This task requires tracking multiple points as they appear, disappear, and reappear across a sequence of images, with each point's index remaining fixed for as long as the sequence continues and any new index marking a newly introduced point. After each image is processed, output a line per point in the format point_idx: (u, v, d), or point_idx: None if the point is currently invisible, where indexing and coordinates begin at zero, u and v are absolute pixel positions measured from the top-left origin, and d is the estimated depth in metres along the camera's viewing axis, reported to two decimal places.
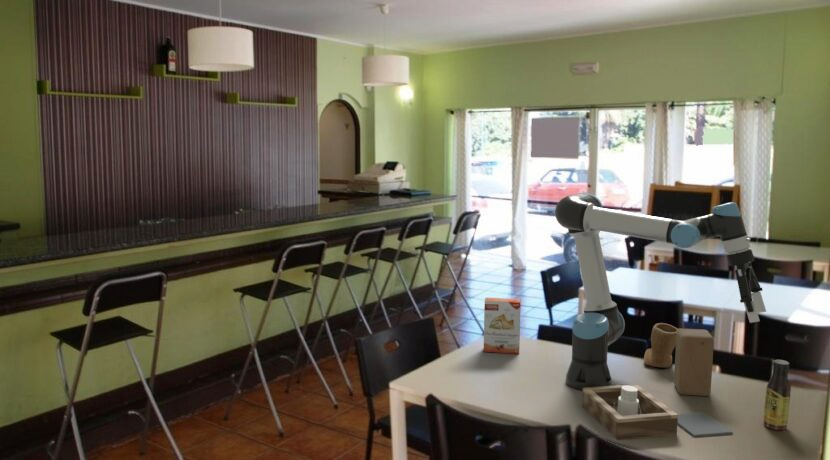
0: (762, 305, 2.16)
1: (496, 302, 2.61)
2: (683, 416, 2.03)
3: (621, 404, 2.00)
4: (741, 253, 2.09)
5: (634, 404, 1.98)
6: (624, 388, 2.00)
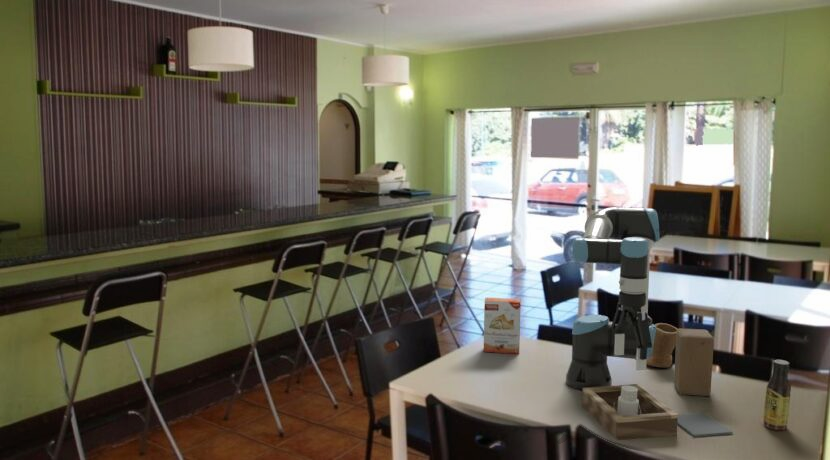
0: None
1: (496, 302, 2.61)
2: (683, 416, 2.03)
3: (621, 404, 2.00)
4: None
5: (634, 404, 1.98)
6: (624, 388, 2.00)
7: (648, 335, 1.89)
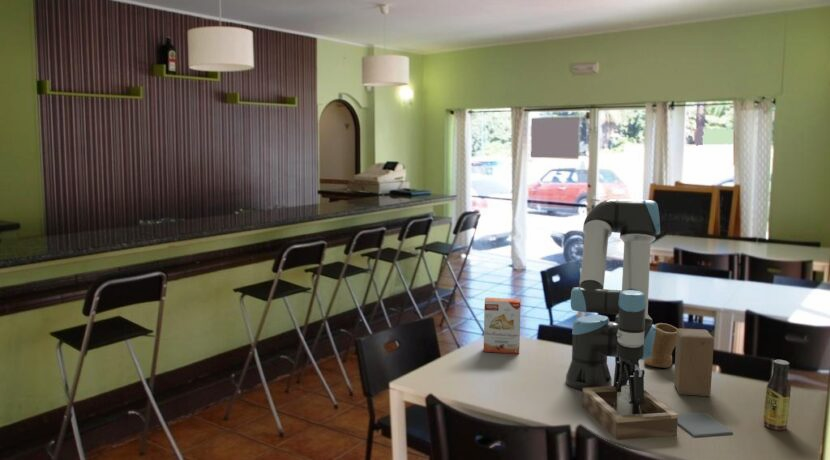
0: None
1: (496, 302, 2.61)
2: (683, 416, 2.03)
3: (621, 404, 2.00)
4: None
5: None
6: (624, 388, 2.00)
7: (642, 392, 1.94)
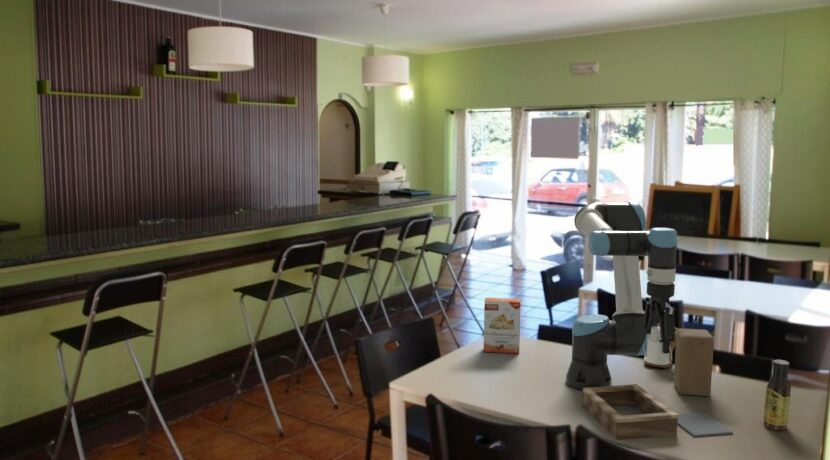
0: None
1: (496, 302, 2.61)
2: (683, 416, 2.03)
3: (651, 344, 1.95)
4: None
5: None
6: (654, 328, 1.96)
7: (672, 330, 1.89)
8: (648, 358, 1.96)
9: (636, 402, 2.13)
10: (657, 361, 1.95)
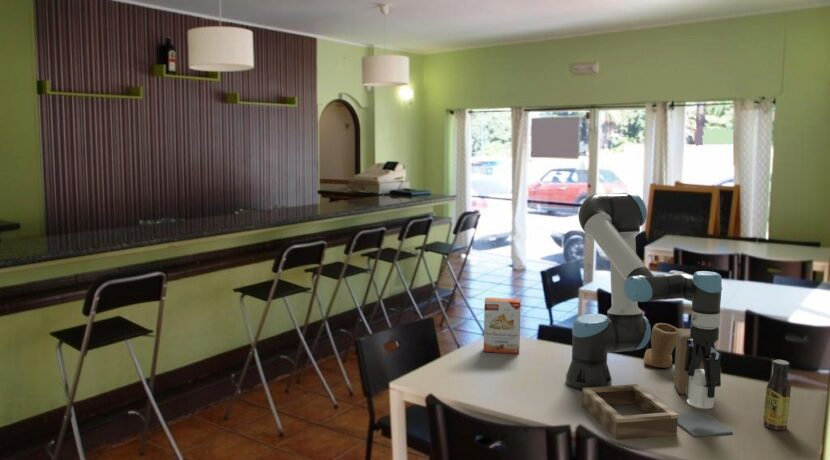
0: None
1: (496, 302, 2.61)
2: (683, 416, 2.03)
3: (695, 388, 1.95)
4: None
5: None
6: (698, 371, 1.96)
7: (718, 375, 1.89)
8: (692, 401, 1.96)
9: (636, 402, 2.13)
10: (701, 405, 1.94)
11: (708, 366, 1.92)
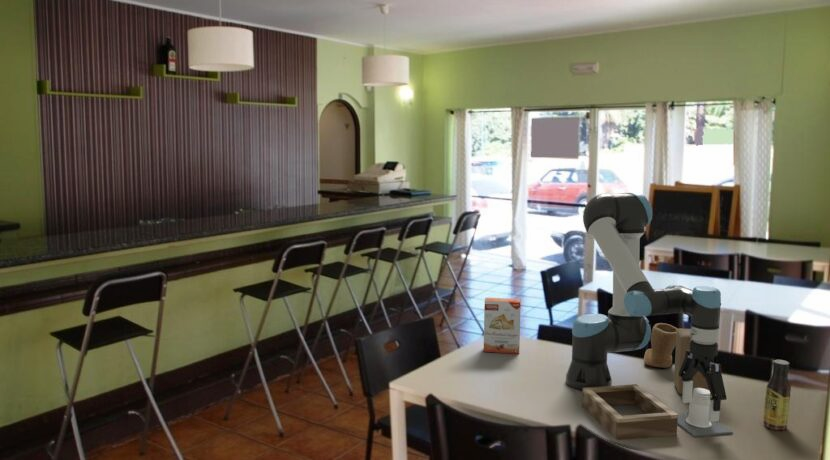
0: None
1: (496, 302, 2.61)
2: (683, 416, 2.03)
3: (693, 407, 1.96)
4: None
5: (707, 407, 1.95)
6: (696, 391, 1.96)
7: (722, 387, 1.88)
8: (690, 420, 1.97)
9: (636, 402, 2.13)
10: (700, 424, 1.95)
11: (710, 379, 1.91)
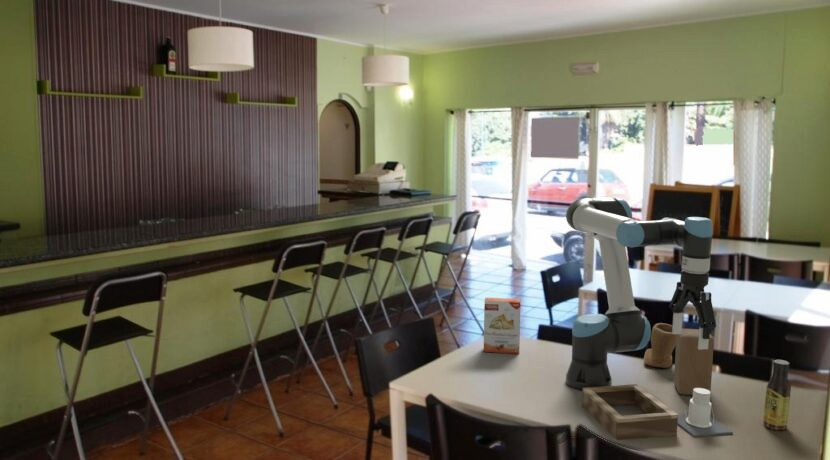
0: None
1: (496, 302, 2.61)
2: (683, 416, 2.03)
3: (693, 407, 1.96)
4: None
5: (707, 407, 1.95)
6: (696, 391, 1.96)
7: (712, 315, 1.89)
8: (690, 420, 1.97)
9: (636, 402, 2.13)
10: (700, 424, 1.95)
11: (700, 308, 1.93)
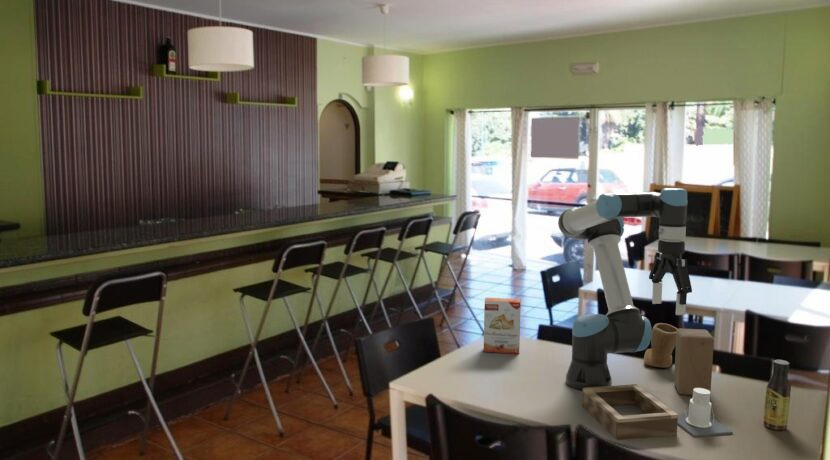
0: None
1: (496, 302, 2.61)
2: (683, 416, 2.03)
3: (693, 407, 1.96)
4: None
5: (707, 407, 1.95)
6: (696, 391, 1.96)
7: (688, 280, 1.96)
8: (690, 420, 1.97)
9: (636, 402, 2.13)
10: (700, 424, 1.95)
11: (677, 275, 1.99)
